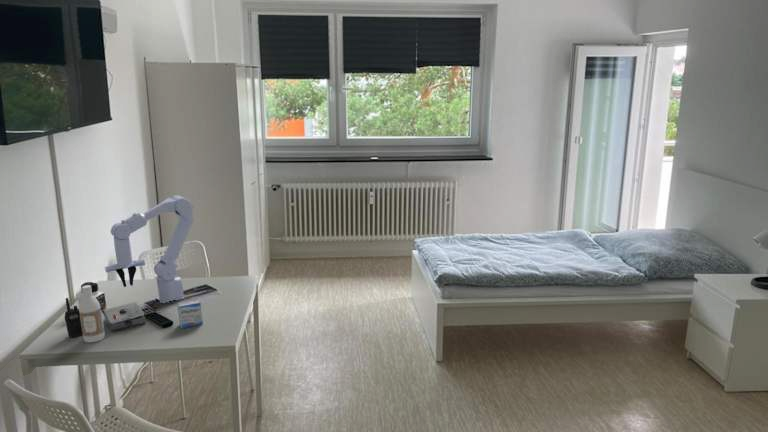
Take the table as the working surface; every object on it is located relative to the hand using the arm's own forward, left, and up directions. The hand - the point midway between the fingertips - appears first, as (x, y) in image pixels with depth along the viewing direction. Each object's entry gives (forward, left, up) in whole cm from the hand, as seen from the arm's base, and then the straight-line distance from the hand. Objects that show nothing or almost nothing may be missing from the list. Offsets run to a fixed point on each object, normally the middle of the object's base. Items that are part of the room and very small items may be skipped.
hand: (128, 285), depth 237 cm
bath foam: (+17, +22, -10) cm, 30 cm away
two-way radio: (+22, +14, -10) cm, 28 cm away
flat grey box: (+5, +13, -10) cm, 17 cm away
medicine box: (-15, +31, -10) cm, 36 cm away
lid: (+5, +13, -6) cm, 15 cm away
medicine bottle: (+13, -7, -10) cm, 18 cm away
